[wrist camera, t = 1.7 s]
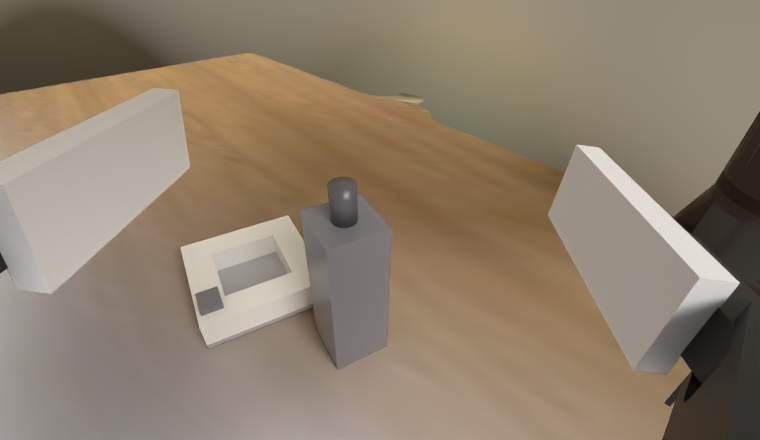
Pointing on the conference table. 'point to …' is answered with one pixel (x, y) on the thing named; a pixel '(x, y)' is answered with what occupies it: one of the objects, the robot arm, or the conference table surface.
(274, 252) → the socket
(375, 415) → the conference table surface
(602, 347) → the conference table surface
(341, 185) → the plug
